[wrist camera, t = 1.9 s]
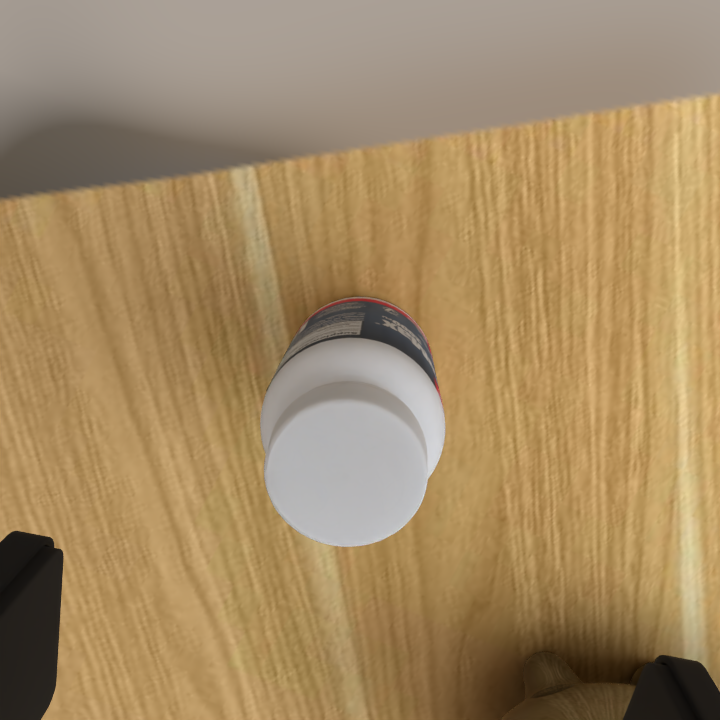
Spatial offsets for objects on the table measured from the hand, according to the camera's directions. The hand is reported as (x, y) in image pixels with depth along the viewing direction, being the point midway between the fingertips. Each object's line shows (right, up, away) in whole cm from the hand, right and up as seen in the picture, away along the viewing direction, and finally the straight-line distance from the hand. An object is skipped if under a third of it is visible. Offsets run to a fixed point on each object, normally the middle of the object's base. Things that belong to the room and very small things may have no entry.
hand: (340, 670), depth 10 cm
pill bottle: (0, +5, +14) cm, 15 cm away
